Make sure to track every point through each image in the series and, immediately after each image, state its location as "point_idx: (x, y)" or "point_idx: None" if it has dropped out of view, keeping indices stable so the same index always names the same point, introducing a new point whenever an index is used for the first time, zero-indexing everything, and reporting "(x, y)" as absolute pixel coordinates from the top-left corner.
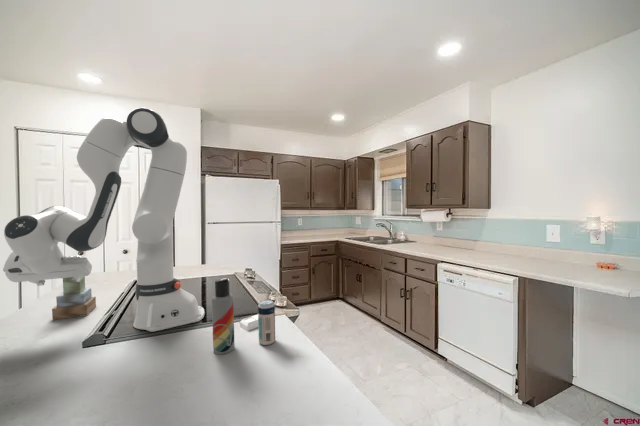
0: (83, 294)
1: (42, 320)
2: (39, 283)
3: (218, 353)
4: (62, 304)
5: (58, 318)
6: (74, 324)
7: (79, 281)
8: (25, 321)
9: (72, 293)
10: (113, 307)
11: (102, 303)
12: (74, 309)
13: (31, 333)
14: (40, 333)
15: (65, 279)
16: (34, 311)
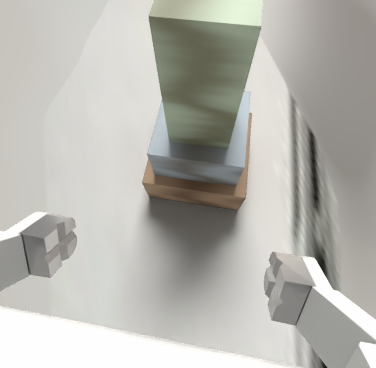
0: (243, 169)
1: (124, 184)
2: (37, 275)
3: None
4: (170, 173)
5: (163, 198)
6: (219, 288)
7: (236, 113)
8: (85, 167)
9: (199, 144)
10: (301, 174)
11: (256, 116)
12: (206, 197)
13: (110, 300)
14: (134, 320)
15: (173, 92)
16: (98, 94)
